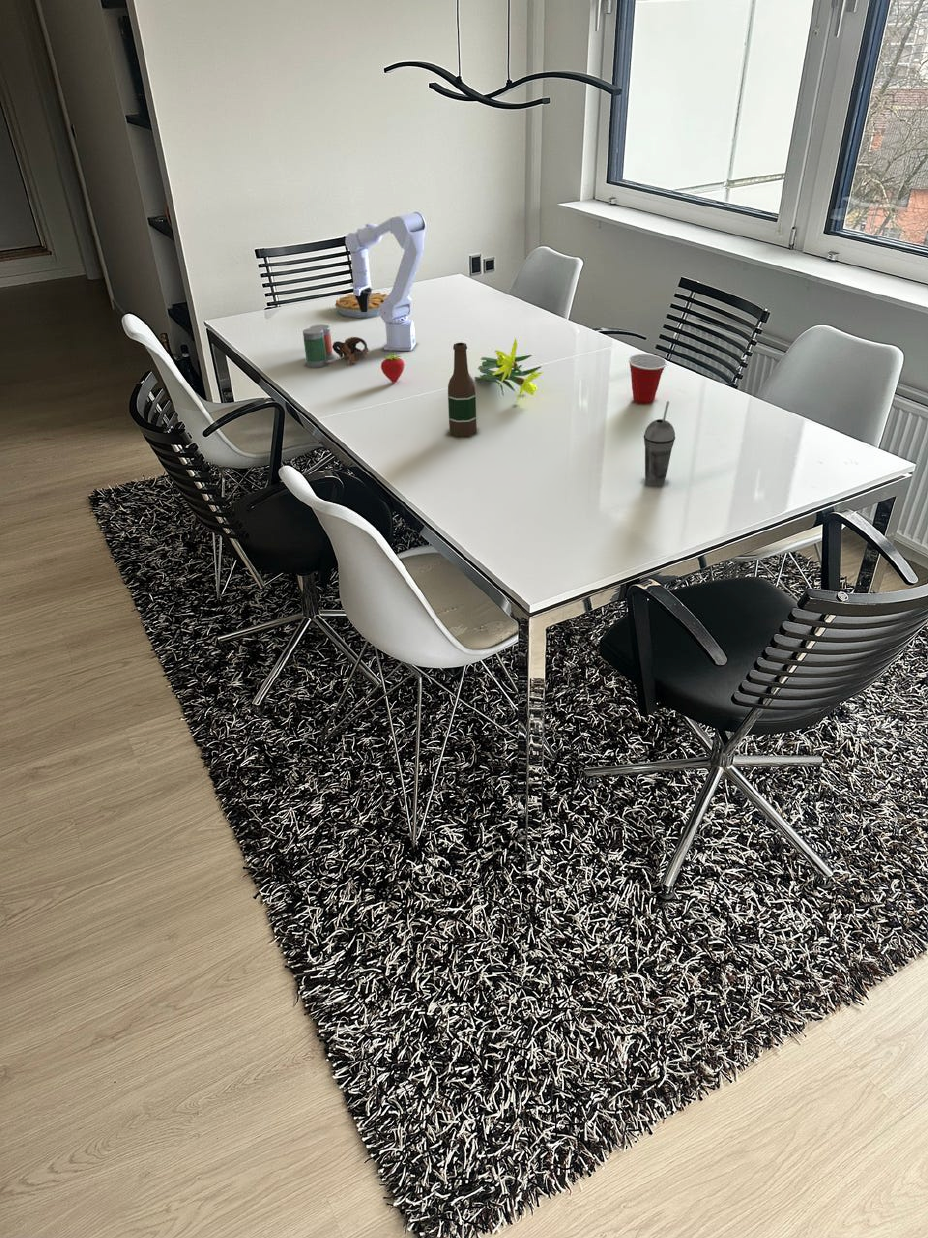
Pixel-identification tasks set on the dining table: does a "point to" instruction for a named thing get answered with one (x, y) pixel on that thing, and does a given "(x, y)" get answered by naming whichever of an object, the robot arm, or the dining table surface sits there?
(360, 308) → the robot arm
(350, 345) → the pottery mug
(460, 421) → the beer bottle
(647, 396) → the plastic cup
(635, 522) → the dining table surface
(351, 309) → the pie
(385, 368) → the strawberry
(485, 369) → the daffodil flowers
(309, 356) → the tin cans
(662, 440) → the beverage cup
